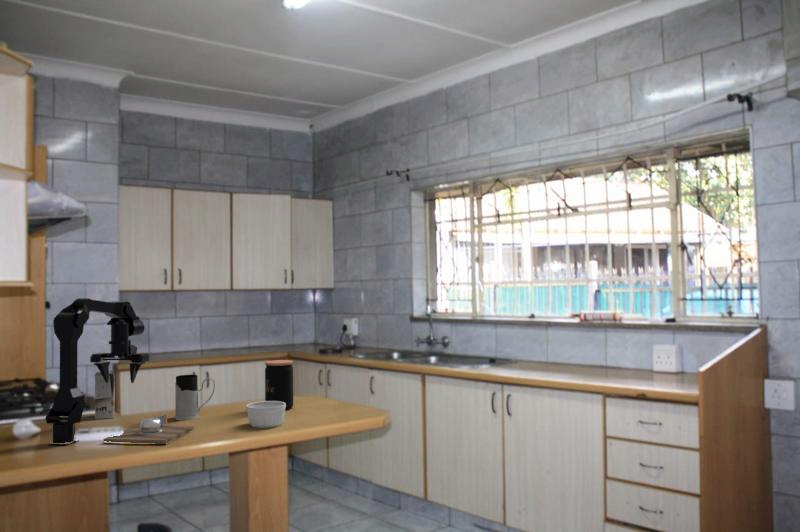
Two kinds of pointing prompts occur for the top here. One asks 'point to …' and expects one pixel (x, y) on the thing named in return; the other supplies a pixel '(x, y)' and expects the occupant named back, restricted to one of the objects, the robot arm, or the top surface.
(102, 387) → the coffee box
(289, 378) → the coffee jar
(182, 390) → the grey black mug
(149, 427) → the lock knob
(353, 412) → the top surface
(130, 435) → the lock board
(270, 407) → the ramekin
